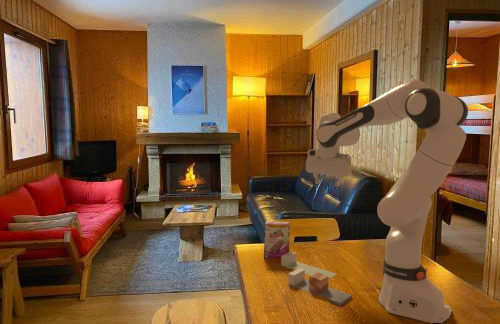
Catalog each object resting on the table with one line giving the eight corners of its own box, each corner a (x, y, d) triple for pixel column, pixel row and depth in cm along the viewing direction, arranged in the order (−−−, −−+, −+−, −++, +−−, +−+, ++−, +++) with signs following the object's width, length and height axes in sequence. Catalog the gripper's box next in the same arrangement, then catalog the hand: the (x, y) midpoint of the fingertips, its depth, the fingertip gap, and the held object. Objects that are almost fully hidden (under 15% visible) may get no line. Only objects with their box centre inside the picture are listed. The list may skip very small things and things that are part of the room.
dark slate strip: (351, 297, 136) (352, 284, 135) (340, 305, 130) (341, 291, 129) (299, 280, 150) (299, 267, 149) (287, 286, 144) (287, 273, 144)
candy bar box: (263, 259, 172) (264, 223, 170) (264, 255, 177) (264, 220, 175) (289, 260, 171) (289, 224, 169) (289, 256, 176) (289, 221, 174)
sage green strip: (336, 276, 154) (337, 264, 153) (326, 282, 148) (326, 269, 147) (291, 262, 168) (291, 251, 168) (280, 267, 162) (280, 256, 162)
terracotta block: (328, 289, 140) (328, 275, 139) (320, 293, 136) (321, 280, 136) (316, 285, 143) (316, 272, 143) (308, 289, 140) (309, 276, 139)
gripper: (355, 153, 158) (353, 187, 160) (312, 150, 172) (311, 181, 174) (347, 154, 154) (346, 189, 155) (304, 151, 167) (303, 183, 169)
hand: (327, 184), depth 165 cm, fingers open, 8 cm apart
